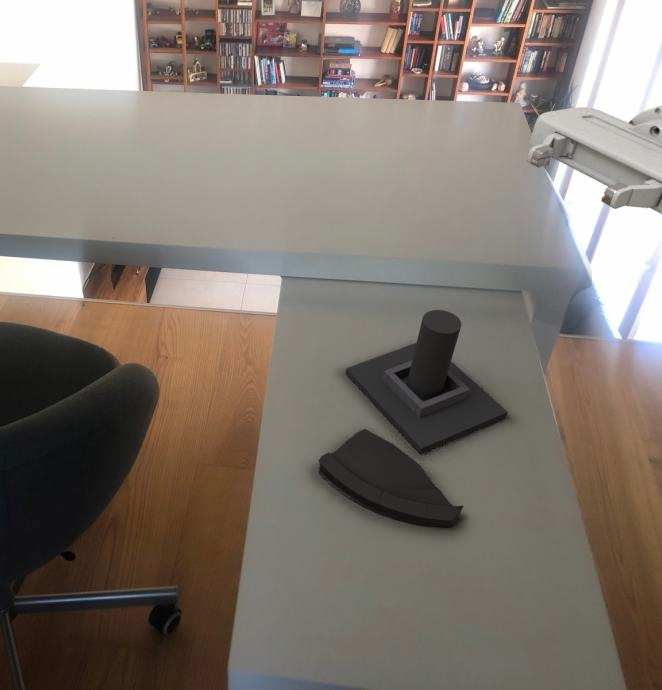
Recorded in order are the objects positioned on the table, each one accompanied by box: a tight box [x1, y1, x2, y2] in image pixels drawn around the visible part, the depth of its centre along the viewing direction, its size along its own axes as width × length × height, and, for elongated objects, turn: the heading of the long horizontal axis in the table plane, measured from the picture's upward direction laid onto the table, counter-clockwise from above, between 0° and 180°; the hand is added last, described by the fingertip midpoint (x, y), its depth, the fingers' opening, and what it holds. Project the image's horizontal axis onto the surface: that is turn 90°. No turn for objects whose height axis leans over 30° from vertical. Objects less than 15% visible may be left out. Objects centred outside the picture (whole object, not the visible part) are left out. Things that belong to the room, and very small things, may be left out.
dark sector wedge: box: [318, 428, 465, 528], centre depth 70 cm, size 8×14×2 cm, turn 41°
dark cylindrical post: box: [406, 309, 462, 400], centre depth 77 cm, size 4×4×10 cm
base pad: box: [345, 342, 508, 455], centre depth 80 cm, size 14×12×2 cm
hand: (569, 177), depth 68 cm, fingers open, 8 cm apart
